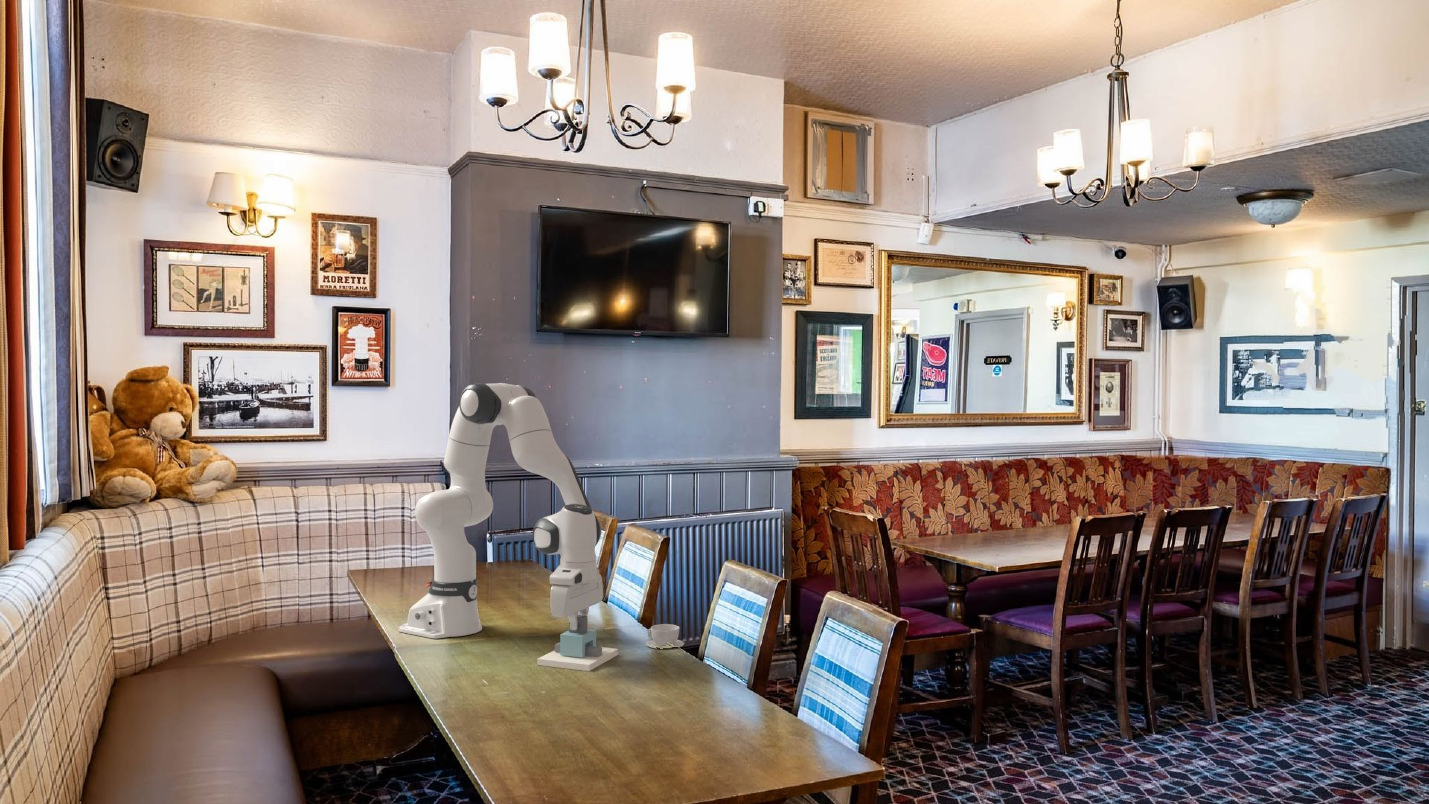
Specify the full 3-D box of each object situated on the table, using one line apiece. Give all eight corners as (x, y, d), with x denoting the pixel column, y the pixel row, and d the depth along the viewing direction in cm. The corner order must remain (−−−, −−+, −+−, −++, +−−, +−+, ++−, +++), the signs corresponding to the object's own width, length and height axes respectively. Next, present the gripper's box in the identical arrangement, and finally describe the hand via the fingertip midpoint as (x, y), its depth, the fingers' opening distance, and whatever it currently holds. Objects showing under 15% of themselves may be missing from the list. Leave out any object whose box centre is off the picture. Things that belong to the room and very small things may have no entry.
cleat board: (537, 665, 234) (537, 650, 234) (568, 649, 248) (568, 635, 248) (588, 671, 229) (588, 656, 229) (617, 655, 243) (617, 641, 243)
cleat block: (560, 655, 237) (560, 618, 236) (574, 647, 243) (574, 611, 243) (582, 657, 234) (582, 620, 234) (595, 650, 241) (596, 614, 241)
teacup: (690, 642, 256) (690, 625, 256) (674, 652, 247) (674, 634, 247) (656, 638, 260) (656, 621, 260) (638, 648, 251) (638, 630, 251)
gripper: (587, 563, 249) (587, 617, 250) (545, 578, 230) (545, 636, 230) (609, 565, 247) (609, 619, 247) (569, 580, 228) (568, 639, 228)
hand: (578, 627), depth 239 cm, fingers closed on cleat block
